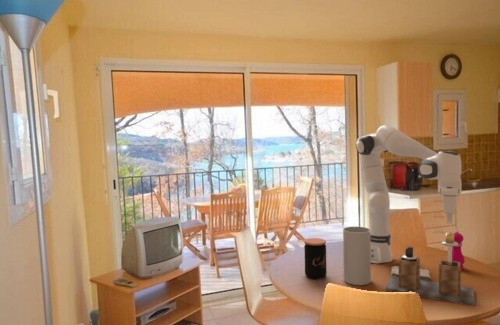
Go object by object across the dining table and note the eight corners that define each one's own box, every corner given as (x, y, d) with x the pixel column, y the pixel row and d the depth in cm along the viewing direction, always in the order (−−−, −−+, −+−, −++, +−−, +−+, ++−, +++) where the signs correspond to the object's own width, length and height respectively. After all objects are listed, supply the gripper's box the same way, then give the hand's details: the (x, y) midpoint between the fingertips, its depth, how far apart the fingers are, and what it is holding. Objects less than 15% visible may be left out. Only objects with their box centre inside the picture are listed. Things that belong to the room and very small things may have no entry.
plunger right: (441, 269, 156) (441, 234, 156) (441, 265, 162) (442, 230, 161) (457, 271, 153) (457, 235, 153) (457, 267, 159) (457, 232, 158)
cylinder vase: (367, 287, 168) (366, 234, 166) (340, 283, 174) (339, 231, 173) (373, 278, 178) (373, 228, 177) (348, 274, 185) (347, 225, 183)
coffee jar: (313, 281, 177) (313, 244, 176) (300, 274, 186) (300, 239, 185) (331, 277, 182) (330, 241, 181) (317, 270, 191) (317, 236, 190)
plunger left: (401, 282, 165) (401, 248, 164) (402, 277, 170) (402, 245, 169) (416, 284, 162) (415, 250, 161) (417, 279, 167) (417, 246, 166)
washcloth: (391, 270, 190) (391, 264, 190) (429, 274, 184) (429, 268, 183) (390, 278, 179) (390, 272, 179) (431, 282, 173) (431, 276, 172)
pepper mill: (466, 271, 185) (467, 231, 184) (451, 270, 186) (451, 231, 185) (461, 266, 192) (461, 228, 191) (446, 265, 193) (446, 228, 192)
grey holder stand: (385, 291, 163) (385, 261, 162) (390, 279, 177) (390, 251, 176) (475, 305, 147) (475, 272, 146) (473, 291, 161) (473, 260, 160)
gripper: (441, 185, 166) (441, 215, 167) (440, 191, 148) (440, 225, 149) (457, 185, 163) (457, 216, 164) (458, 192, 145) (458, 226, 146)
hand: (449, 220), depth 156 cm, fingers open, 8 cm apart
